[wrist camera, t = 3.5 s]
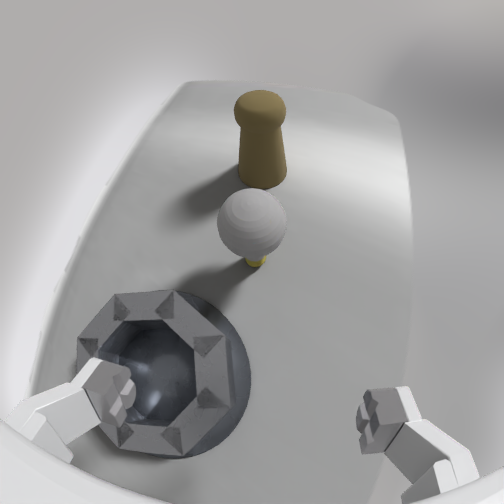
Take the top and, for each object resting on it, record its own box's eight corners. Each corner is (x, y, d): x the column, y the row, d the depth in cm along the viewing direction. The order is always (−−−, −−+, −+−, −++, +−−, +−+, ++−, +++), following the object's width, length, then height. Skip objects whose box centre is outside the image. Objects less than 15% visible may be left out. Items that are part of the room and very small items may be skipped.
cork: (230, 182, 34) (217, 110, 24) (247, 149, 36) (241, 80, 26) (279, 194, 32) (281, 119, 23) (292, 159, 35) (296, 87, 25)
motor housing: (259, 456, 20) (257, 471, 16) (96, 445, 21) (71, 451, 17) (243, 285, 28) (238, 266, 24) (94, 296, 28) (71, 282, 24)
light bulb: (220, 274, 29) (198, 222, 20) (241, 230, 31) (230, 167, 22) (271, 293, 27) (273, 247, 18) (289, 246, 30) (297, 185, 20)
